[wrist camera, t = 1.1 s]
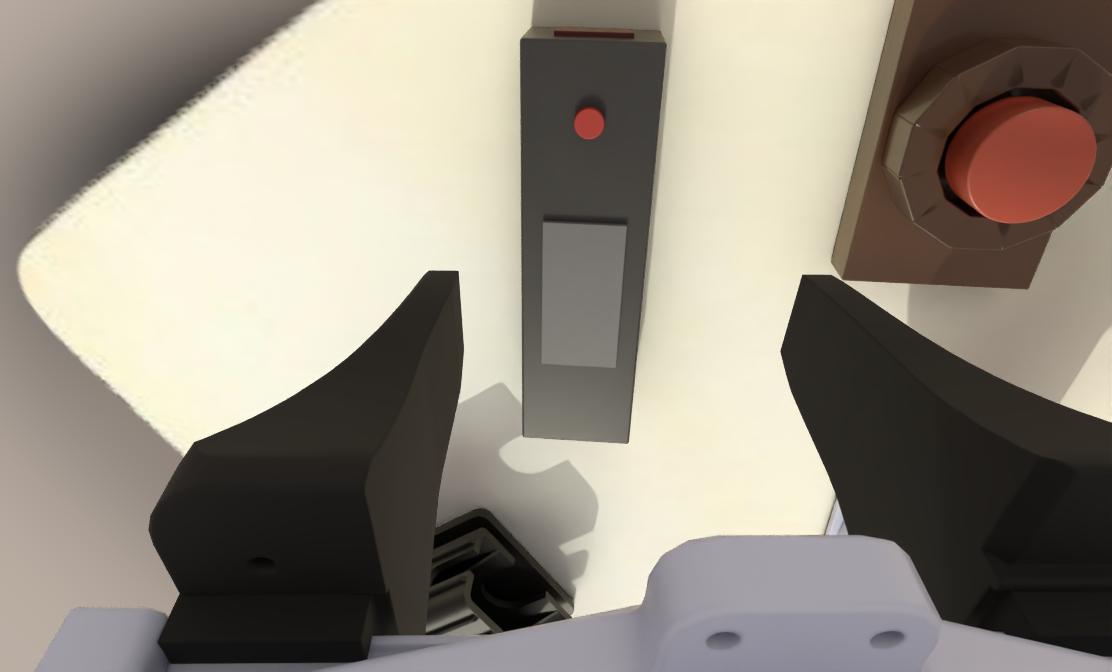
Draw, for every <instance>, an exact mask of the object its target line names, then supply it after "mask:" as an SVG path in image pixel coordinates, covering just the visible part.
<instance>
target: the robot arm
mask: <svg viewBox="0 0 1112 672" xmlns="http://www.w3.org/2000/svg"><path fill="white" fill-rule="evenodd" d="M780 352H781V356H782V360H783V364H784V368H785V372H786V375H787V379H788V382H789V386H790V389H791V392H792V394H793V397H794V399H795V402H796V404H797V406H798V408H799V411H800V413H801V415H802V418H803V420H804V422H805V424H806V427H807V429H808V431H809V433H810V435H811V438H812V440H813V442H814V444H815V446H816V449H817V451H818V453H819V455H820V458H821V460H822V462H823V464H824V466H825V469H826V471H827V473H828V476H829V478H830V481H831V483H832V486H833V488H834V491H835V494H836V497H837V498H836V502H835V505H834V508H833V511H832V515H831V518H830V521H829V524H828V527H827V531H826V534H825V535H718V536H712V537H706V538H699V539H693V540H689V541H687V542H685V543H683V544H681V545H679V546H677V547H676V548H674V549H672V550H670V551H668V552H666V553H665V554H664V555H662V556H661V558H660V559H659V561H658V562H657V564H656V565H655V567H654V568H653V570H652V572H651V573H650V575H649V578H648V583H647V589H646V594H645V597H644V600H643V602H642V604H640V605H635V606H630V607H625V608H621V609H616V610H611V611H606V612H601V613H596V614H591V615H586V616H581V617H576V618H571V619H566V620H561V621H556V622H551V623H546V624H541V625H536V626H532V627H527V628H522V629H517V630H512V631H507V632H502V633H497V634H492V635H426V622H427V610H428V599H429V587H430V575H431V565H432V555H433V544H434V534H435V524H436V515H437V506H438V496H439V489H440V483H441V477H442V472H443V467H444V463H445V458H446V453H447V449H448V444H449V440H450V435H451V431H452V426H453V422H454V417H455V413H456V408H457V403H458V399H459V394H460V389H461V378H462V367H463V355H464V343H463V329H462V314H461V300H460V286H459V272H458V271H428V272H427V273H426V274H425V275H424V276H423V277H422V278H421V280H420V281H419V282H418V284H417V285H416V286H415V287H414V289H413V290H412V291H411V292H410V294H409V295H408V296H407V297H406V298H405V300H404V301H403V302H402V303H401V304H400V306H399V307H398V308H397V309H396V310H395V311H394V312H393V313H392V315H391V316H390V317H389V318H388V319H387V320H386V321H385V322H384V323H383V324H382V326H381V327H380V328H379V329H378V330H377V331H376V332H375V333H374V334H372V335H371V336H370V337H369V338H368V339H367V340H366V341H365V342H364V343H363V344H362V345H361V346H360V347H359V348H358V349H357V350H356V351H355V352H354V353H352V354H351V355H350V356H349V357H348V358H347V359H345V360H344V361H343V362H342V363H340V364H339V365H338V366H336V367H335V368H334V369H333V370H331V371H330V372H328V373H327V374H326V375H324V376H323V377H321V378H320V379H318V380H317V381H315V382H314V383H312V384H310V385H309V386H307V387H306V388H304V389H303V390H301V391H300V392H298V393H297V394H295V395H293V396H292V397H290V398H288V399H287V400H285V401H283V402H281V403H279V404H278V405H276V406H274V407H272V408H270V409H268V410H266V411H264V412H262V413H260V414H258V415H257V416H255V417H253V418H250V419H248V420H246V421H244V422H242V423H240V424H237V425H235V426H233V427H230V428H228V429H225V430H223V431H221V432H218V433H216V434H214V435H211V436H209V437H207V438H204V439H201V440H199V441H196V442H194V443H193V445H192V446H191V448H190V449H189V451H188V452H187V454H186V455H185V456H184V458H183V459H182V461H181V462H180V464H179V465H178V467H177V469H176V471H175V472H174V474H173V476H172V477H171V480H170V481H169V483H168V485H167V487H166V488H165V490H164V492H163V494H162V496H161V497H160V499H159V501H158V503H157V505H156V506H155V508H154V510H153V512H152V514H151V516H150V524H149V533H150V536H151V539H152V542H153V545H154V547H155V549H156V551H157V552H158V554H159V556H160V558H161V560H162V561H163V563H164V565H165V567H166V569H167V571H168V573H169V575H170V576H171V578H172V580H173V582H174V584H175V586H176V587H177V589H178V591H179V593H180V594H179V596H178V599H177V601H176V603H175V605H174V607H173V609H172V611H171V614H170V616H168V615H167V614H166V613H164V612H162V611H159V610H157V609H154V608H147V607H78V608H75V609H72V610H71V611H70V612H69V613H68V615H67V617H66V618H65V620H64V622H63V624H62V625H61V627H60V629H59V630H58V632H57V634H56V635H55V637H54V639H53V640H52V642H51V644H50V646H49V647H48V649H47V651H46V652H45V654H44V656H43V658H42V659H41V661H40V662H39V664H38V666H37V668H36V669H35V671H34V672H1112V423H1111V422H1108V421H1105V420H1102V419H1099V418H1097V417H1094V416H1091V415H1088V414H1085V413H1082V412H1079V411H1076V410H1074V409H1071V408H1068V407H1066V406H1063V405H1060V404H1058V403H1055V402H1053V401H1050V400H1048V399H1045V398H1043V397H1041V396H1038V395H1036V394H1034V393H1031V392H1029V391H1026V390H1024V389H1022V388H1019V387H1017V386H1015V385H1013V384H1011V383H1008V382H1006V381H1004V380H1002V379H1000V378H998V377H996V376H994V375H992V374H990V373H988V372H986V371H984V370H982V369H980V368H978V367H976V366H974V365H972V364H970V363H968V362H966V361H965V360H963V359H961V358H959V357H957V356H956V355H954V354H952V353H950V352H949V351H947V350H945V349H944V348H942V347H940V346H939V345H937V344H936V343H934V342H932V341H931V340H929V339H927V338H926V337H924V336H923V335H921V334H919V333H918V332H916V331H915V330H913V329H912V328H910V327H909V326H907V325H906V324H904V323H903V322H901V321H900V320H898V319H897V318H895V317H894V316H892V315H891V314H889V313H888V312H887V311H885V310H884V309H882V308H881V307H879V306H878V305H876V304H875V303H874V302H872V301H871V300H869V299H868V298H866V297H865V296H863V295H862V294H861V293H859V292H858V291H856V290H855V289H853V288H852V287H850V286H849V285H847V284H846V283H844V282H842V281H841V280H839V279H837V278H836V277H834V276H832V275H802V278H801V281H800V285H799V288H798V292H797V295H796V299H795V302H794V306H793V309H792V313H791V316H790V320H789V323H788V327H787V330H786V334H785V337H784V341H783V344H782V348H781V351H780Z"/></svg>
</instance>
